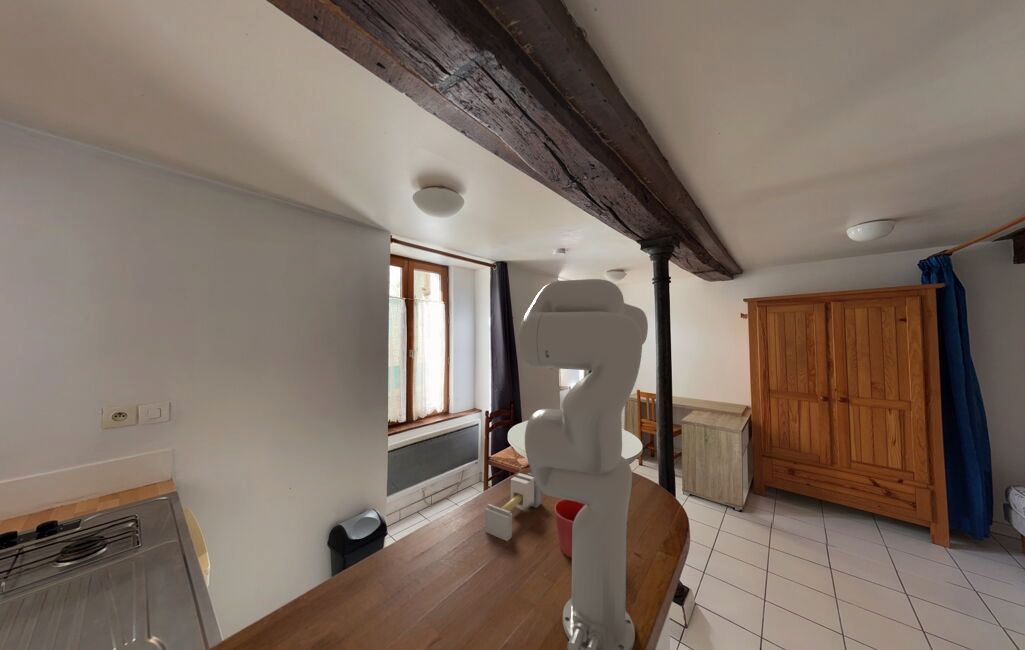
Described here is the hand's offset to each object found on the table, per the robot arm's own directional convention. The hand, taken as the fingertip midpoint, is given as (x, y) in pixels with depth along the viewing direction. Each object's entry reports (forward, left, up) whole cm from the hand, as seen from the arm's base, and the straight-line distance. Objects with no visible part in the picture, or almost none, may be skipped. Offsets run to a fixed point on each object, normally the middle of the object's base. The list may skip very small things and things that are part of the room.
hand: (610, 432), depth 85 cm
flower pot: (-10, +6, -27) cm, 30 cm away
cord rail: (-6, +25, -27) cm, 37 cm away
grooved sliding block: (-4, +25, -25) cm, 35 cm away
